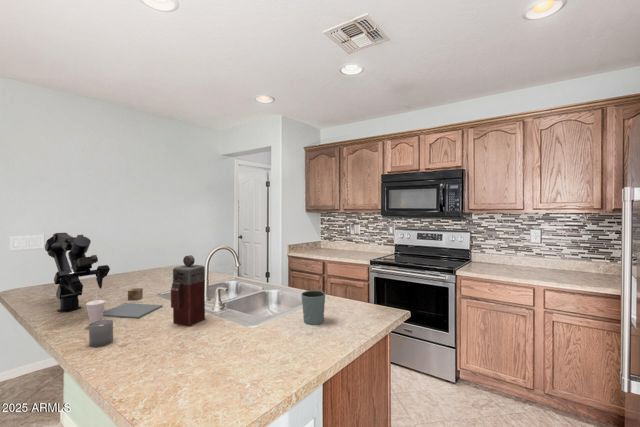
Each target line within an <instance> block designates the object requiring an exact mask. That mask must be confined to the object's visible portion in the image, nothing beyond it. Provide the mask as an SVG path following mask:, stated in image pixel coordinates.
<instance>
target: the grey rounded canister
mask: <svg viewBox="0 0 640 427" xmlns="http://www.w3.org/2000/svg"><path fill="white" fill-rule="evenodd" d="M88 340H89V343H88V344H89V345H88V346H89V347H91V348H99V347H101V348H102V347H105V346H108V345H110V344H111V343H113V342H114V321H113V319H102V320H101V321H96V322H93V323H91V324H90V323H89V325H88Z"/></svg>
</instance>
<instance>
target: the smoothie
mask: <svg viewBox="0 0 640 427" xmlns="http://www.w3.org/2000/svg"><path fill="white" fill-rule="evenodd" d="M98 295H99V294H98V291H95V300H91V301H88V302H86V303H85V307H86V308H87V314H88V320H89V325H90V324H91V323H93V322H96V321H101V320H103V319H104V318H103V317H104V316H103V312H104V311H105V305H106V300H104V299H98V298H99V296H98Z"/></svg>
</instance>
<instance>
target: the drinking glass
mask: <svg viewBox="0 0 640 427" xmlns="http://www.w3.org/2000/svg"><path fill="white" fill-rule="evenodd" d="M300 296H301V303H302V313H303V323H304V324H306V325H310V326H318V325H323V323H324V319H325V302H326V292H324V291H321V290H305V291H302V292H301V294H300Z"/></svg>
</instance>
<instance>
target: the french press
mask: <svg viewBox="0 0 640 427" xmlns="http://www.w3.org/2000/svg"><path fill="white" fill-rule="evenodd" d="M182 263H183V264H184V265H179V266H176V267H173V269H172V283H171V287H170V308H172V311H173V312H172V313H173V314H172V317H173V318H172V319H173V320H172V322H173V323H172V324H174V325H178V326H184V327H192V326H194V325H196V324H198V323H200V322H203V321H204V320H205V319H206V308H205V307H206V304H205V303H206V300H205V298H206V296H205V295H206V294H205V293H206V292H205V290H206V282H205V281H206V279H205V278H206V276H205V274H206V273H205V272H206V271H205V266H204V265H203V264H202V265H201V264H195V257H194V256H193V255H191V254H189V255H186V256H183V260H182Z"/></svg>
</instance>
